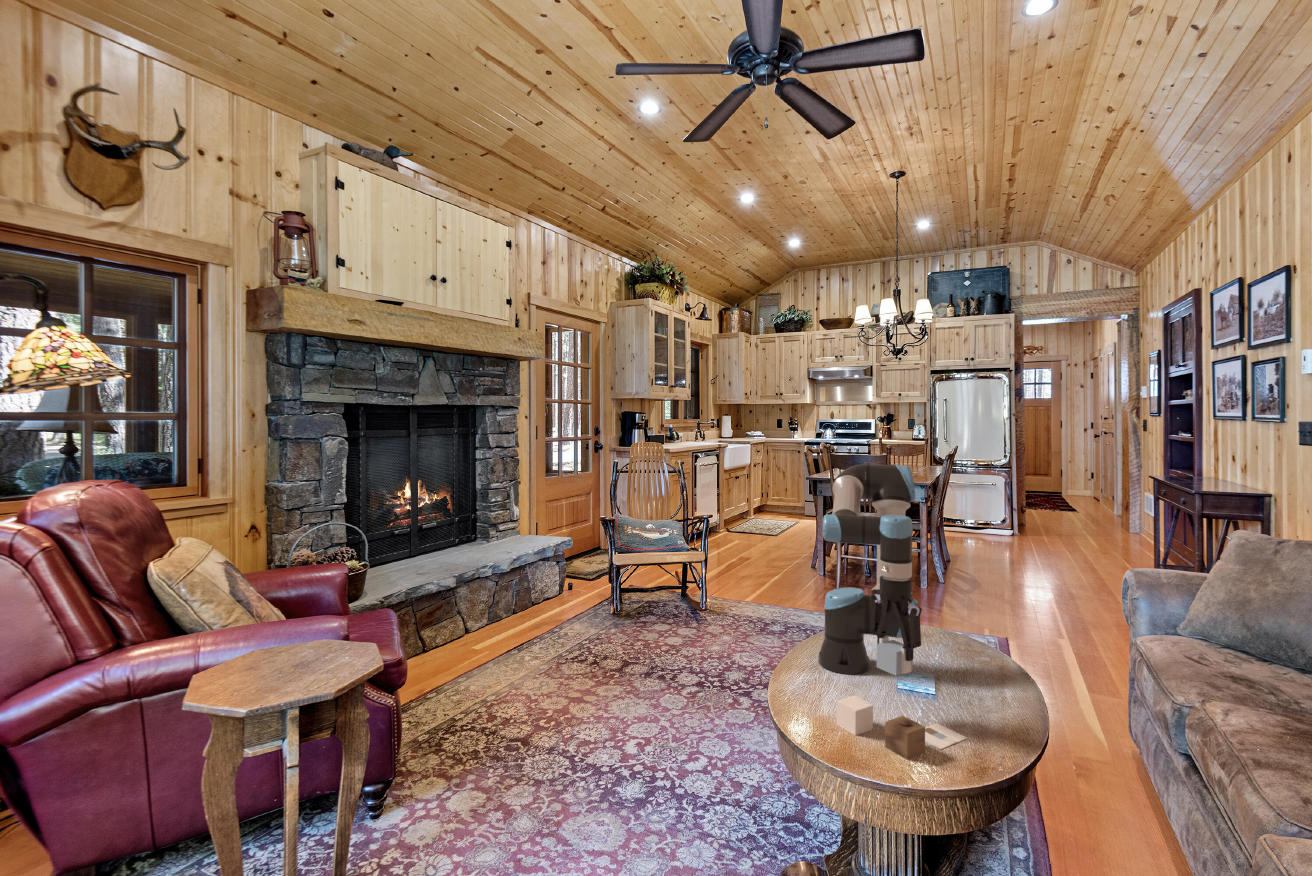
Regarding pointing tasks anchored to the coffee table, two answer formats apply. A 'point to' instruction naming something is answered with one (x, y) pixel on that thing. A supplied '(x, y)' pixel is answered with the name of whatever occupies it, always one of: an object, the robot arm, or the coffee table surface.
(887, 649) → the slate brick
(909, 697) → the coffee table surface
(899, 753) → the walnut base brick
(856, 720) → the cream brick
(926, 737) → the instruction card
